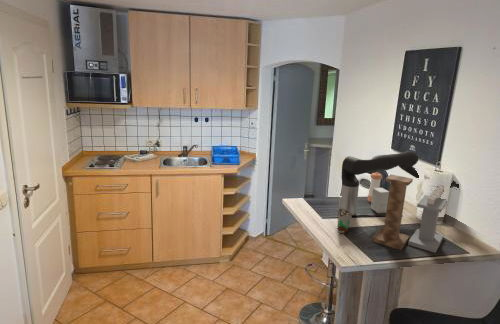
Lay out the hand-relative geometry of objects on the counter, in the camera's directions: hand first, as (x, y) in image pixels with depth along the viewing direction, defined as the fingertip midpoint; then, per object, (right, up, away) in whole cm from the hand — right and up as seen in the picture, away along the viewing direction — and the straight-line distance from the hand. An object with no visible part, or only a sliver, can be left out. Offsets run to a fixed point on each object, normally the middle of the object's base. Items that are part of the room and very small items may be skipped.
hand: (444, 180), depth 183 cm
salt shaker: (-23, -15, +40) cm, 49 cm away
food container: (-54, -26, -3) cm, 60 cm away
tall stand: (-33, -29, -12) cm, 46 cm away
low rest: (-16, -29, -13) cm, 36 cm away
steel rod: (-12, -8, -13) cm, 20 cm away
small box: (-25, -19, +25) cm, 40 cm away
